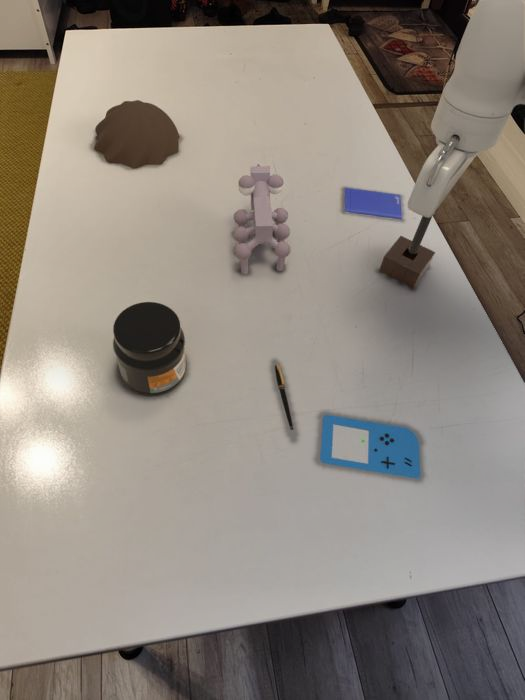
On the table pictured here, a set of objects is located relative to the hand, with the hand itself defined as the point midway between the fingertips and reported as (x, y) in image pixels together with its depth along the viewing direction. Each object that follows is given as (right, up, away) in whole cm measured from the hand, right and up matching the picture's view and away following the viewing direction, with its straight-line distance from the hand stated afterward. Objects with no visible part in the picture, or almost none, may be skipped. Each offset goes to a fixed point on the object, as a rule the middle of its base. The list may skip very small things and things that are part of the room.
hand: (432, 206), depth 79 cm
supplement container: (-43, -25, +6) cm, 51 cm away
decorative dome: (-55, +25, +41) cm, 73 cm away
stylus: (-1, -5, +7) cm, 9 cm away
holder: (+2, -6, +24) cm, 25 cm away
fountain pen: (-22, -30, +5) cm, 38 cm away
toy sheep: (-27, 0, +26) cm, 37 cm away
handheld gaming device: (-9, -37, +1) cm, 38 cm away
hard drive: (-2, +9, +35) cm, 37 cm away
